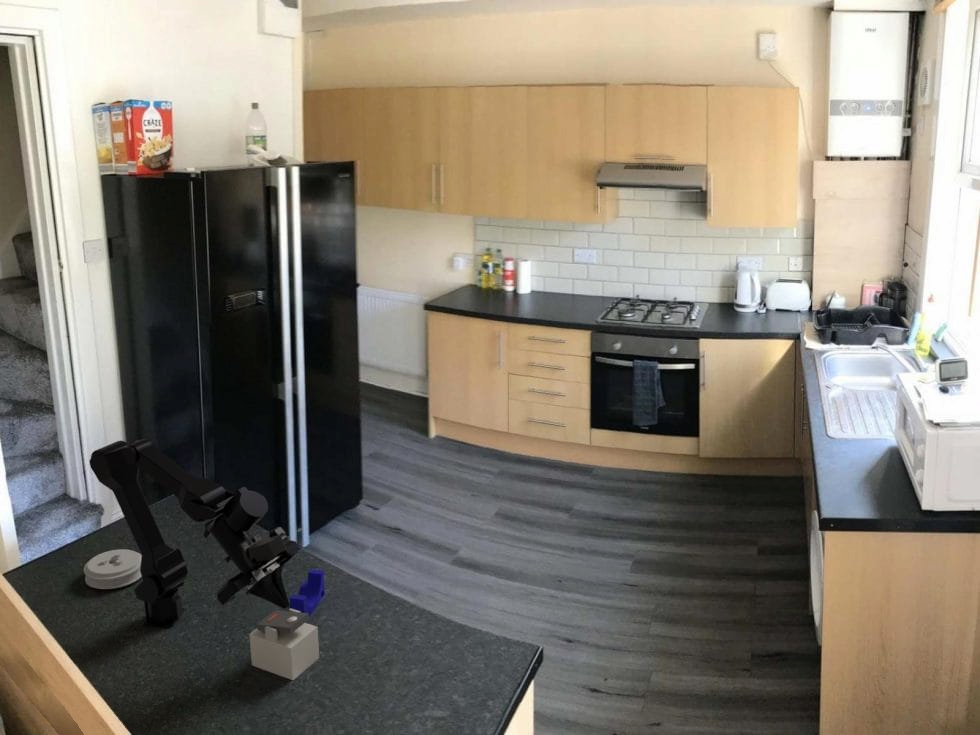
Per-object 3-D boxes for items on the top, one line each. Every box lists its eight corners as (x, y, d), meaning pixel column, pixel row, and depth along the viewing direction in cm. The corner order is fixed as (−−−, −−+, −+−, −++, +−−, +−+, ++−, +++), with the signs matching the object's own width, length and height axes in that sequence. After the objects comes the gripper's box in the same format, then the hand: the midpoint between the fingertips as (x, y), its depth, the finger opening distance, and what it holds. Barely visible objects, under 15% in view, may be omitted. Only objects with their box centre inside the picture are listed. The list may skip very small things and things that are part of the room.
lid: (73, 582, 209) (70, 562, 208) (121, 559, 220) (118, 539, 218) (110, 598, 203) (107, 578, 201) (157, 573, 213) (155, 554, 212)
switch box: (252, 665, 180) (248, 622, 177) (279, 643, 187) (276, 602, 184) (293, 680, 175) (290, 637, 173) (319, 658, 182) (316, 616, 179)
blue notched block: (305, 592, 206) (304, 568, 204) (324, 594, 205) (323, 570, 203) (284, 622, 194) (282, 597, 192) (305, 625, 193) (303, 599, 192)
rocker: (257, 630, 178) (255, 623, 178) (276, 615, 183) (275, 609, 183) (291, 633, 174) (289, 627, 174) (309, 619, 179) (308, 612, 179)
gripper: (222, 542, 166) (275, 611, 165) (290, 502, 182) (339, 565, 180) (194, 571, 172) (245, 639, 171) (262, 530, 188) (309, 591, 186)
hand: (287, 606), depth 177 cm, fingers closed
